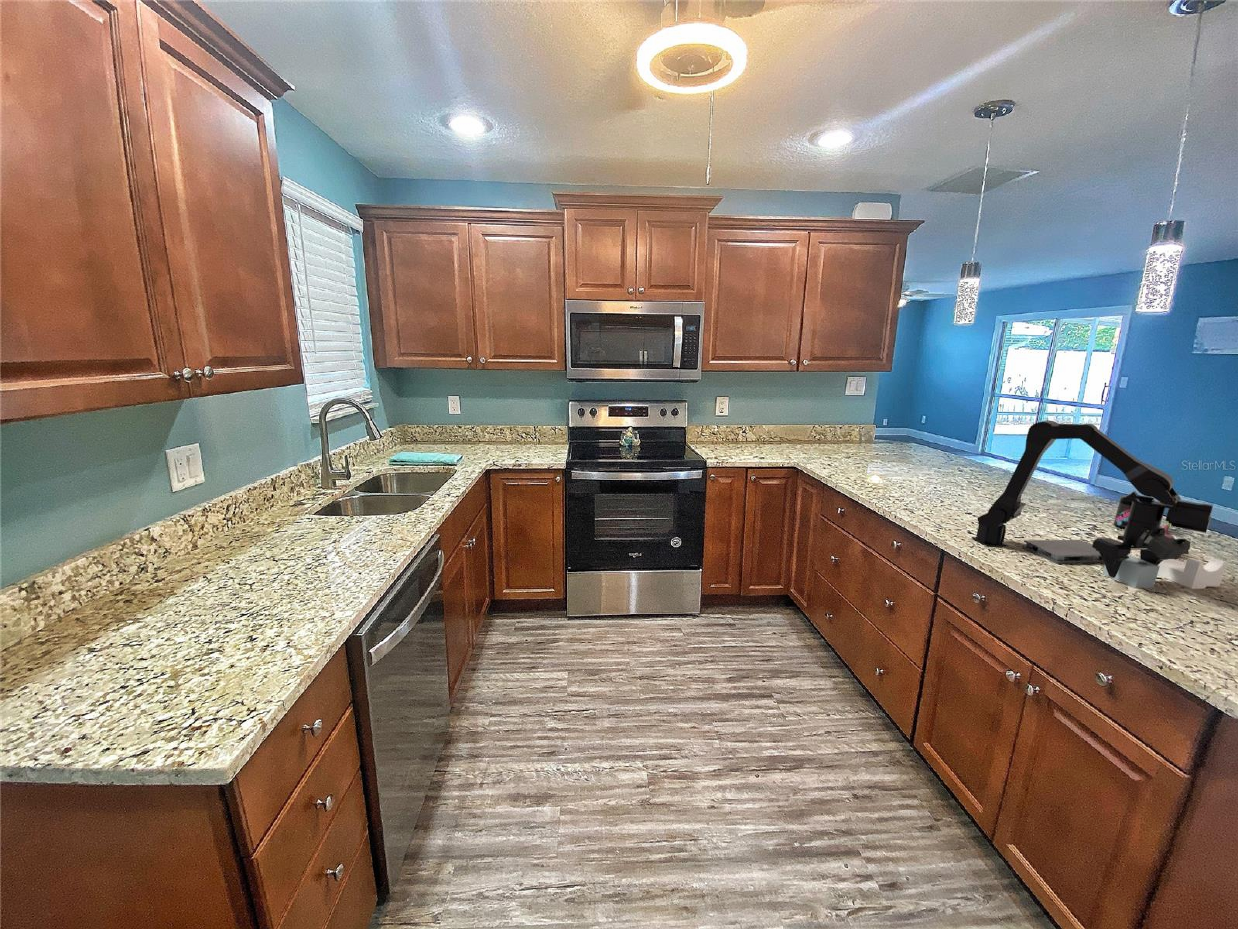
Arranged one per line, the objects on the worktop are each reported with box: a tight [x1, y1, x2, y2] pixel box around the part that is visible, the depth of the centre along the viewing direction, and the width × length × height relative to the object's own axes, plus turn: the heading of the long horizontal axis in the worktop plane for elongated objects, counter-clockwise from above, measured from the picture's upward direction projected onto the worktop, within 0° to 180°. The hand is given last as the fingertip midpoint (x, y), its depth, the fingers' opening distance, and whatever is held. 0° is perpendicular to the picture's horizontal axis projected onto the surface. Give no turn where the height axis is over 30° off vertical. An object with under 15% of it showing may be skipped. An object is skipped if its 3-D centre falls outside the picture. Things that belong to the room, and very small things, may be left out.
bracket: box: [1138, 556, 1228, 590], centre depth 127 cm, size 13×7×8 cm, turn 1°
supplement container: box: [1113, 495, 1132, 531], centre depth 163 cm, size 7×7×10 cm
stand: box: [1021, 539, 1104, 565], centre depth 141 cm, size 18×11×2 cm, turn 94°
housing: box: [1101, 554, 1160, 589], centre depth 125 cm, size 5×8×6 cm, turn 4°
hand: (1128, 576), depth 125 cm, fingers open, 9 cm apart
